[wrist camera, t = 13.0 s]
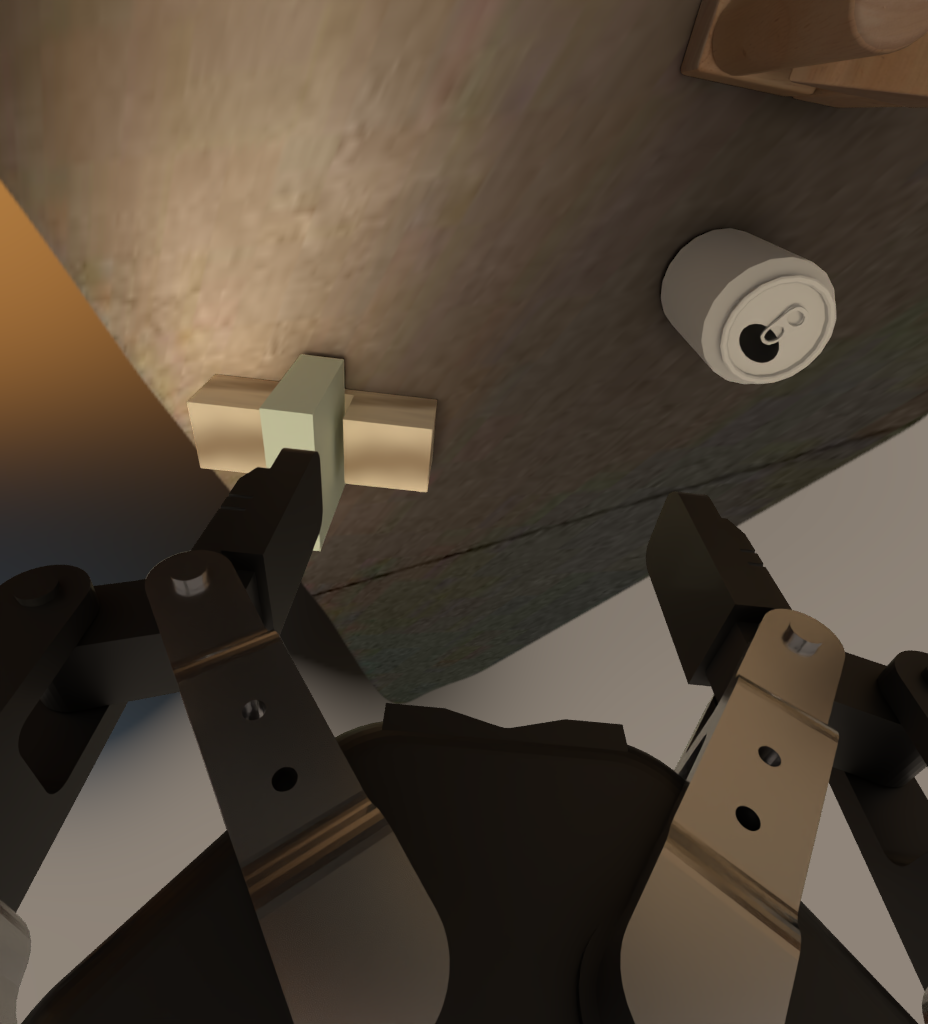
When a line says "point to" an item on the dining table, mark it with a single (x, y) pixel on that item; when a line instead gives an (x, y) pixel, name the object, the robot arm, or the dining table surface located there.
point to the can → (748, 306)
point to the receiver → (366, 432)
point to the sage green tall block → (310, 423)
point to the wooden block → (815, 49)
